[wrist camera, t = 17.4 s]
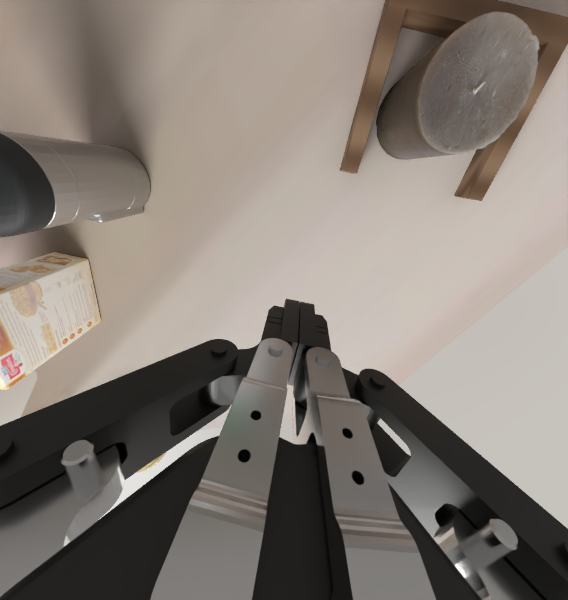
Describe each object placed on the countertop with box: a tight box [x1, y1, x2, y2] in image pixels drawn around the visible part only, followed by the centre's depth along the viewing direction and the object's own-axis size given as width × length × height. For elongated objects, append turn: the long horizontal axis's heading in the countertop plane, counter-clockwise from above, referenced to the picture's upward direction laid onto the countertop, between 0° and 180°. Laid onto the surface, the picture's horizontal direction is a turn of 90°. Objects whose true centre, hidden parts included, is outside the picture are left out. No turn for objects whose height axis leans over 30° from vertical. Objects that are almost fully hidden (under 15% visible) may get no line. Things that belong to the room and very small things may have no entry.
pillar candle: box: [376, 12, 540, 159], centre depth 26 cm, size 10×10×15 cm
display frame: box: [340, 0, 568, 201], centre depth 31 cm, size 18×20×4 cm
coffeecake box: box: [0, 252, 101, 390], centre depth 41 cm, size 15×7×20 cm, turn 169°
